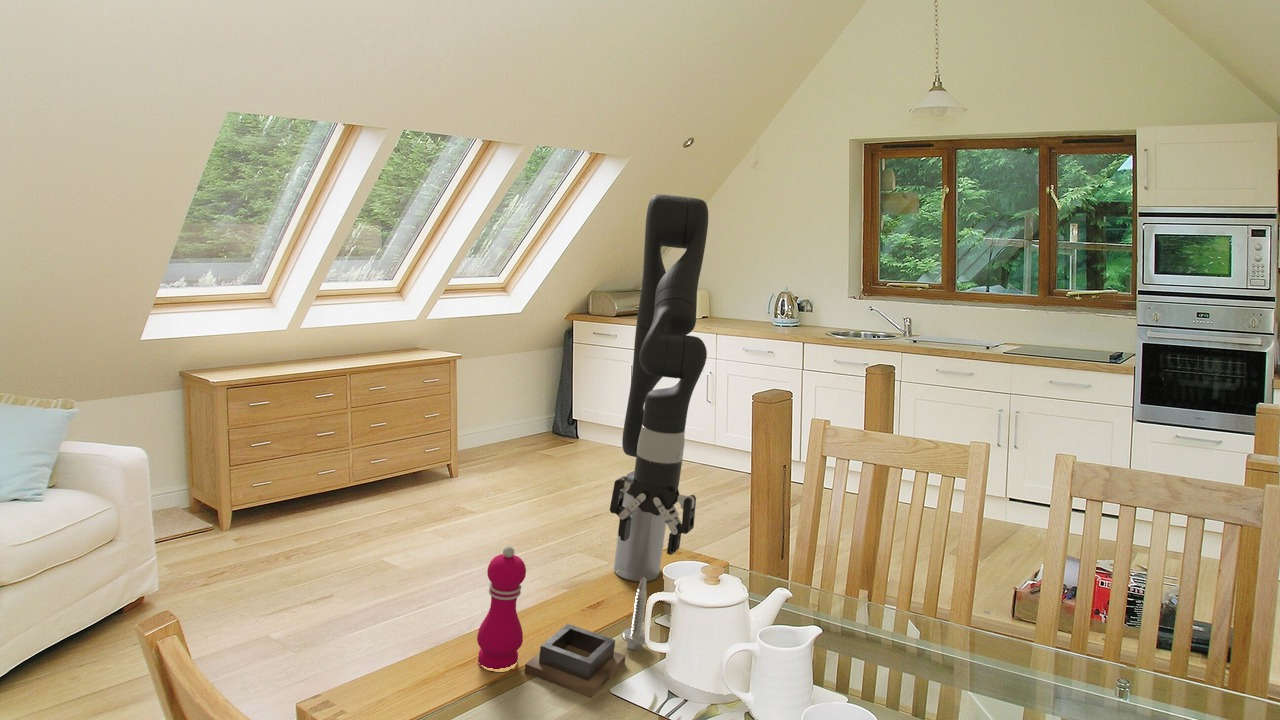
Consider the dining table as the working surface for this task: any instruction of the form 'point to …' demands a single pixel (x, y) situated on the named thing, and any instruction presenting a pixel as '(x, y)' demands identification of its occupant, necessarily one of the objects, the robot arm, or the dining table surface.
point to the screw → (637, 620)
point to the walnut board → (572, 681)
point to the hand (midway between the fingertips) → (647, 546)
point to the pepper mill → (502, 612)
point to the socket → (572, 662)
